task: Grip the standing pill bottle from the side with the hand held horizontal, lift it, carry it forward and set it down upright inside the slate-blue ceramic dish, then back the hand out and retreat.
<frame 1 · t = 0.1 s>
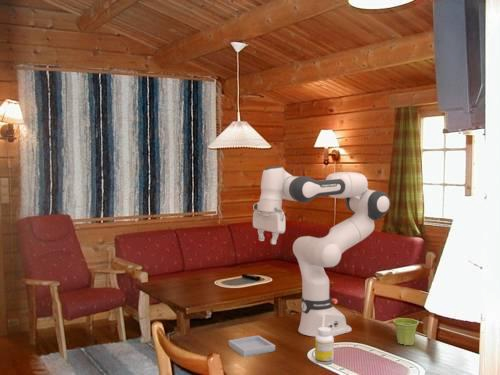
hand: (267, 242, 212), 39 cm above the table, tool pointing down, fingers open, 8 cm apart
pill bottle: (324, 361, 191), on the table
plant pot: (405, 343, 210), on the table
dish: (251, 348, 204), on the table
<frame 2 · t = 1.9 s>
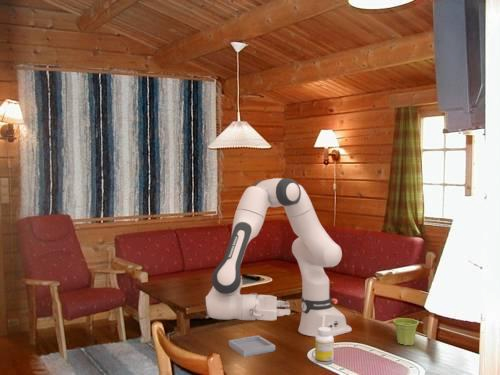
hand: (289, 308, 191), 19 cm above the table, tool horizontal, fingers open, 8 cm apart
nothing on the table moved.
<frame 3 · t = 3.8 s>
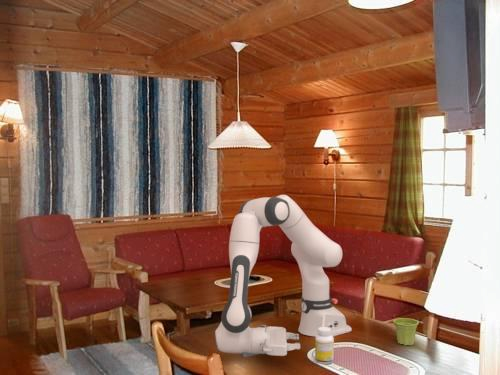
hand: (299, 341, 191), 7 cm above the table, tool horizontal, fingers open, 8 cm apart
nothing on the table moved.
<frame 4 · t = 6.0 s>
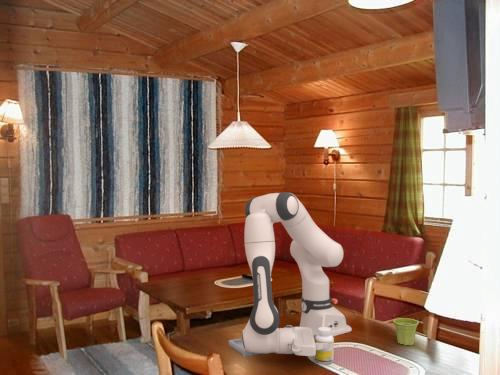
hand: (327, 341, 191), 7 cm above the table, tool horizontal, fingers closed on pill bottle, 6 cm apart
pill bottle: (324, 361, 191), on the table, touching gripper
everything else where it was.
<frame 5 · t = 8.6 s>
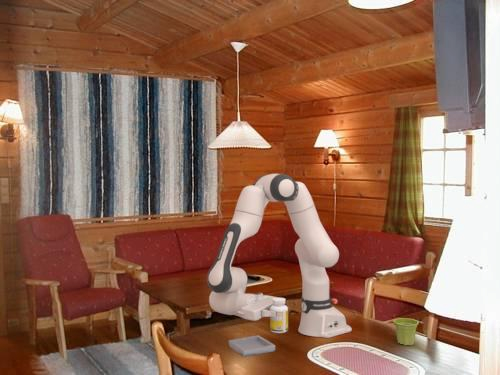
hand: (281, 311, 194), 17 cm above the table, tool horizontal, fingers closed on pill bottle, 6 cm apart
pill bottle: (279, 331, 195), point 9 cm above the table, touching gripper
everything else where it was.
when the fingers open (9 cm above the table, at t = 11.5 s): pill bottle stays where it is, resting on dish.
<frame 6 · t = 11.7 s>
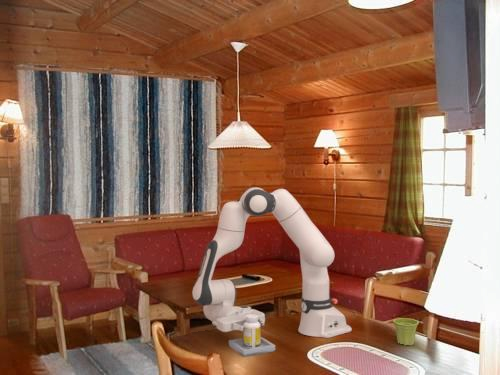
hand: (253, 326, 203), 9 cm above the table, tool horizontal, fingers open, 8 cm apart
pill bottle: (251, 346, 204), point 1 cm above the table, touching dish
everything else where it was.
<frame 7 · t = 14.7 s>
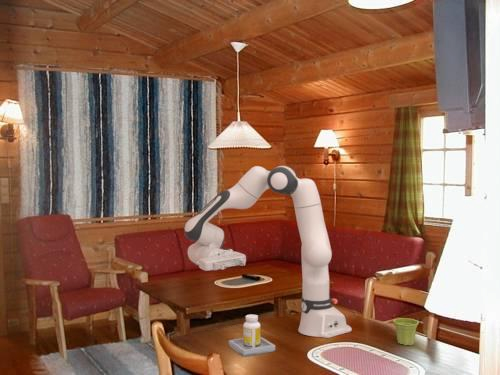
hand: (234, 265, 212), 30 cm above the table, tool horizontal, fingers open, 8 cm apart
nothing on the table moved.
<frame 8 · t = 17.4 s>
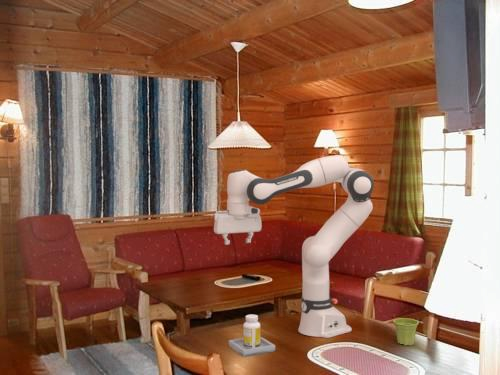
hand: (237, 243, 219), 37 cm above the table, tool pointing down, fingers open, 8 cm apart
nothing on the table moved.
at the end: pill bottle inside the target area on the dish (0.1 cm from its centre), point 0.6 cm above the dish's base; pill bottle tilted 0°; the gripper is holding nothing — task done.
